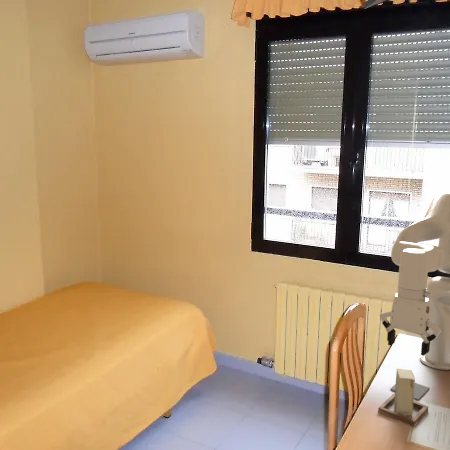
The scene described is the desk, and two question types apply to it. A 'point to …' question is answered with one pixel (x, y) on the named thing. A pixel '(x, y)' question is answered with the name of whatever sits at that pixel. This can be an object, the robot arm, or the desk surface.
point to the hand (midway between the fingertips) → (407, 348)
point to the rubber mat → (416, 390)
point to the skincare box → (404, 392)
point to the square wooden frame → (399, 417)
